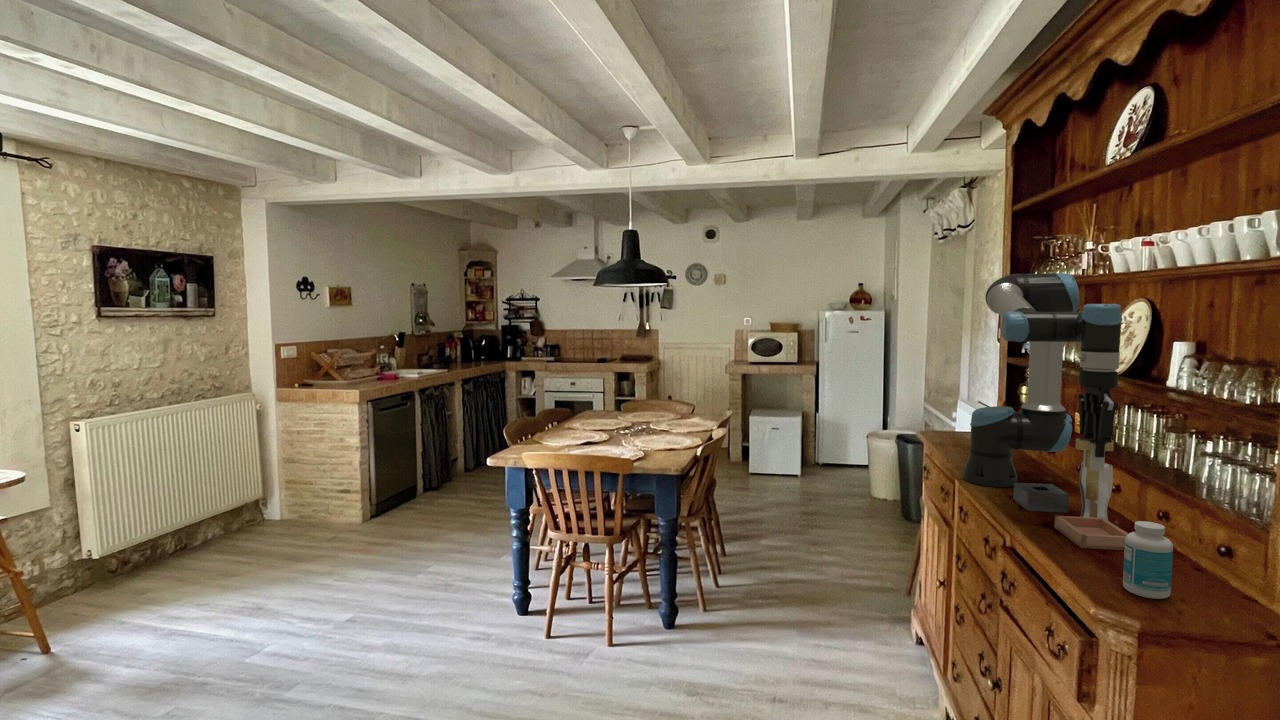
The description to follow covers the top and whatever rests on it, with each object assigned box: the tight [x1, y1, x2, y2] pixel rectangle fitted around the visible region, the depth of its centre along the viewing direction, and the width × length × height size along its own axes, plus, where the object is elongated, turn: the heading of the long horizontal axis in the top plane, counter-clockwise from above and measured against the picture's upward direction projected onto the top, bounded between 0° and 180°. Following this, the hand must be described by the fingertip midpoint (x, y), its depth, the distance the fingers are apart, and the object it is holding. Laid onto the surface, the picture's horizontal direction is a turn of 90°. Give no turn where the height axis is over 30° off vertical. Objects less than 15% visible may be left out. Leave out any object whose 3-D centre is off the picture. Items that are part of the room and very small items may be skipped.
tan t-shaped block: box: [1075, 437, 1115, 501], centre depth 156 cm, size 7×2×14 cm, turn 80°
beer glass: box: [1079, 461, 1114, 521], centre depth 168 cm, size 7×7×15 cm
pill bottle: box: [1122, 520, 1174, 600], centre depth 128 cm, size 8×7×14 cm
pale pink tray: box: [1054, 515, 1129, 551], centre depth 157 cm, size 14×11×3 cm
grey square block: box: [1012, 482, 1070, 514], centre depth 182 cm, size 10×10×5 cm
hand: (1093, 468), depth 155 cm, fingers closed on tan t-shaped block, 2 cm apart
